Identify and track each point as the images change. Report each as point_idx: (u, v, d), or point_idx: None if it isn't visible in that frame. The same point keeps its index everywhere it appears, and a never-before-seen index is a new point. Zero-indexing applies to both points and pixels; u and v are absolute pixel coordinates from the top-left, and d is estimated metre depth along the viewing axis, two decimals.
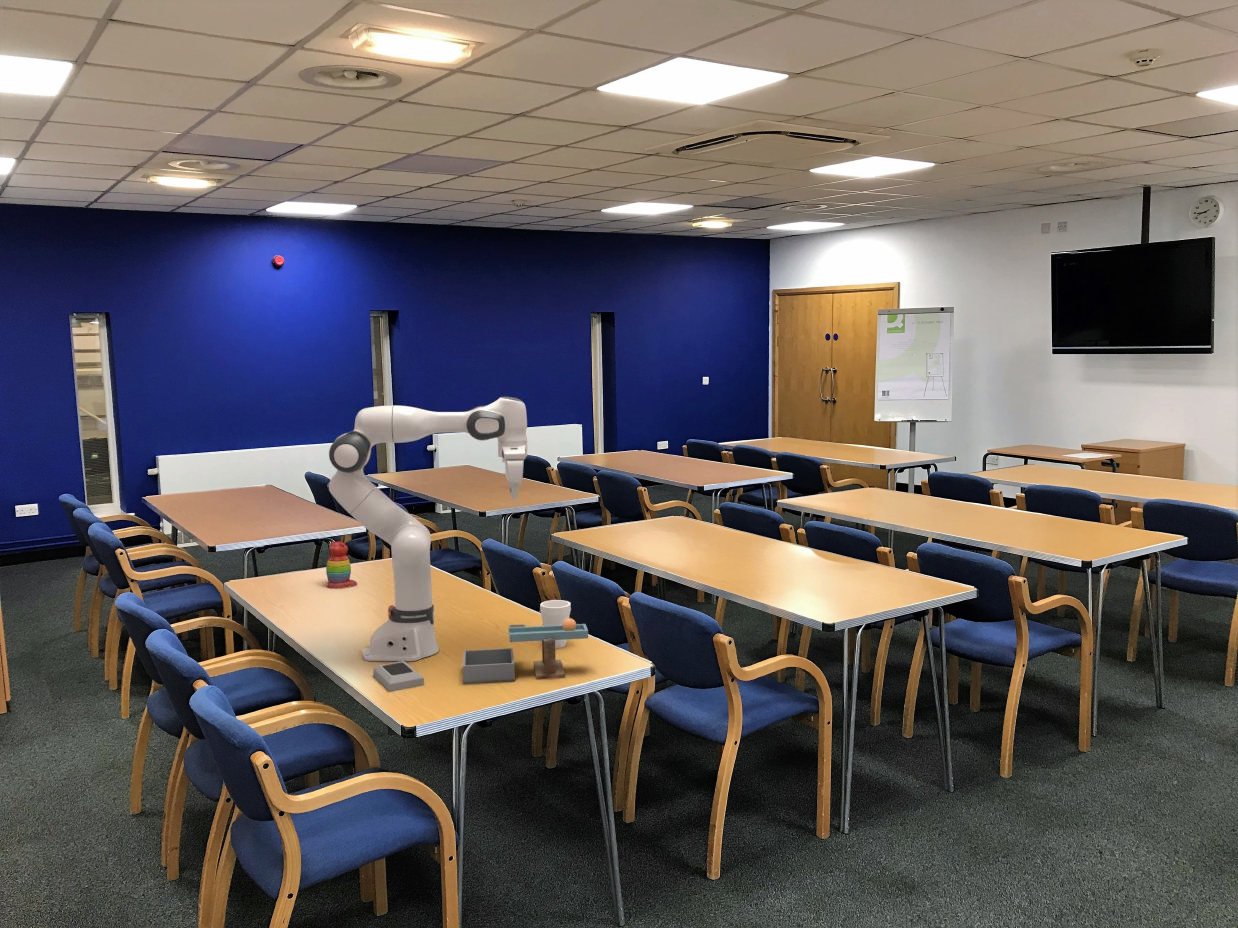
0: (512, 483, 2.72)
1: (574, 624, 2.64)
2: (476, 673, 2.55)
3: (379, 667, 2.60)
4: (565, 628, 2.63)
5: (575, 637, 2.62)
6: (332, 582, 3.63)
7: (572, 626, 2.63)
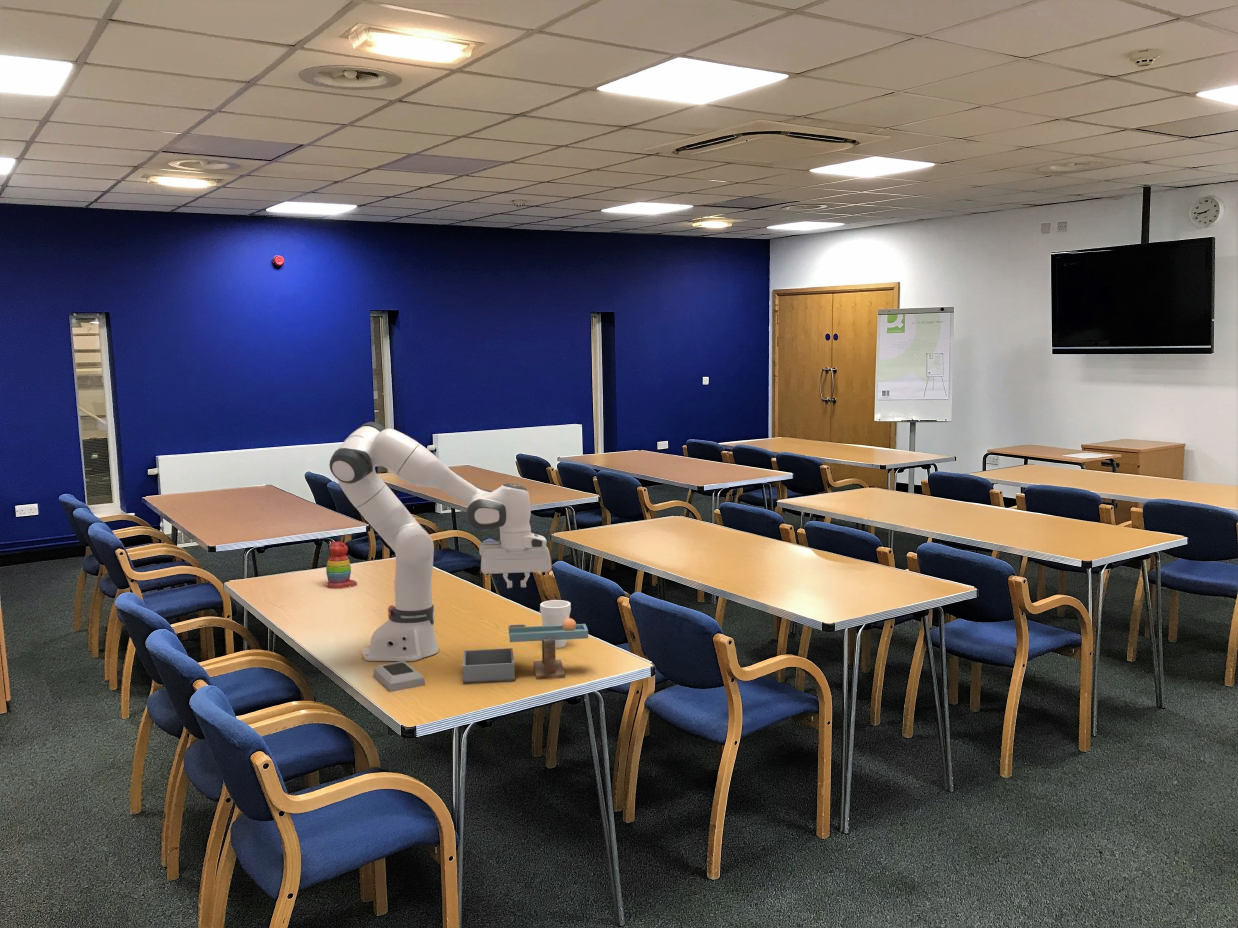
0: None
1: (574, 624, 2.64)
2: (476, 673, 2.55)
3: (380, 667, 2.60)
4: (565, 628, 2.63)
5: (575, 637, 2.62)
6: (332, 582, 3.63)
7: (572, 626, 2.63)
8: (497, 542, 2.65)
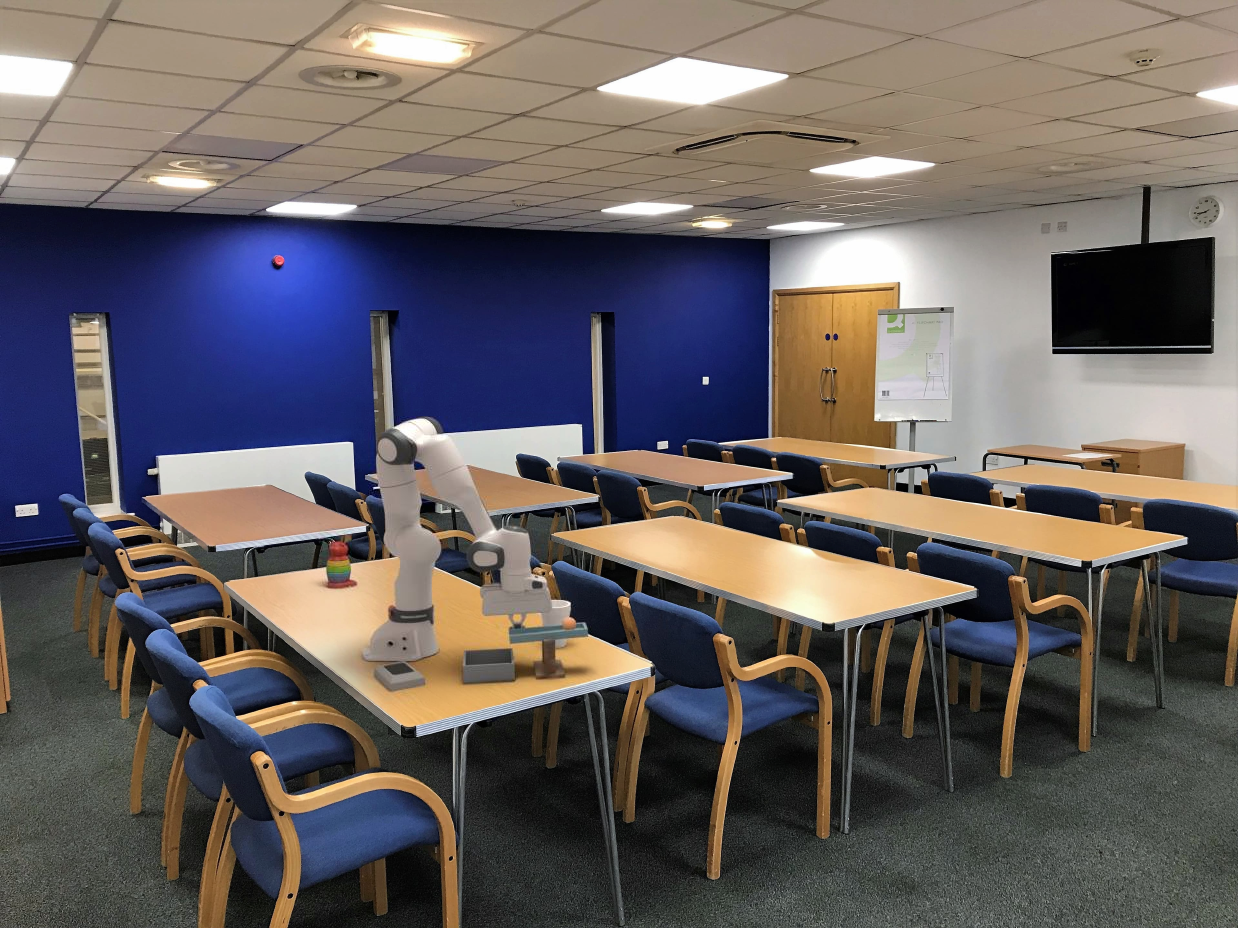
0: None
1: (574, 623, 2.64)
2: (476, 673, 2.55)
3: (380, 667, 2.60)
4: (565, 627, 2.63)
5: (575, 636, 2.62)
6: (332, 582, 3.63)
7: (572, 625, 2.63)
8: (497, 584, 2.67)
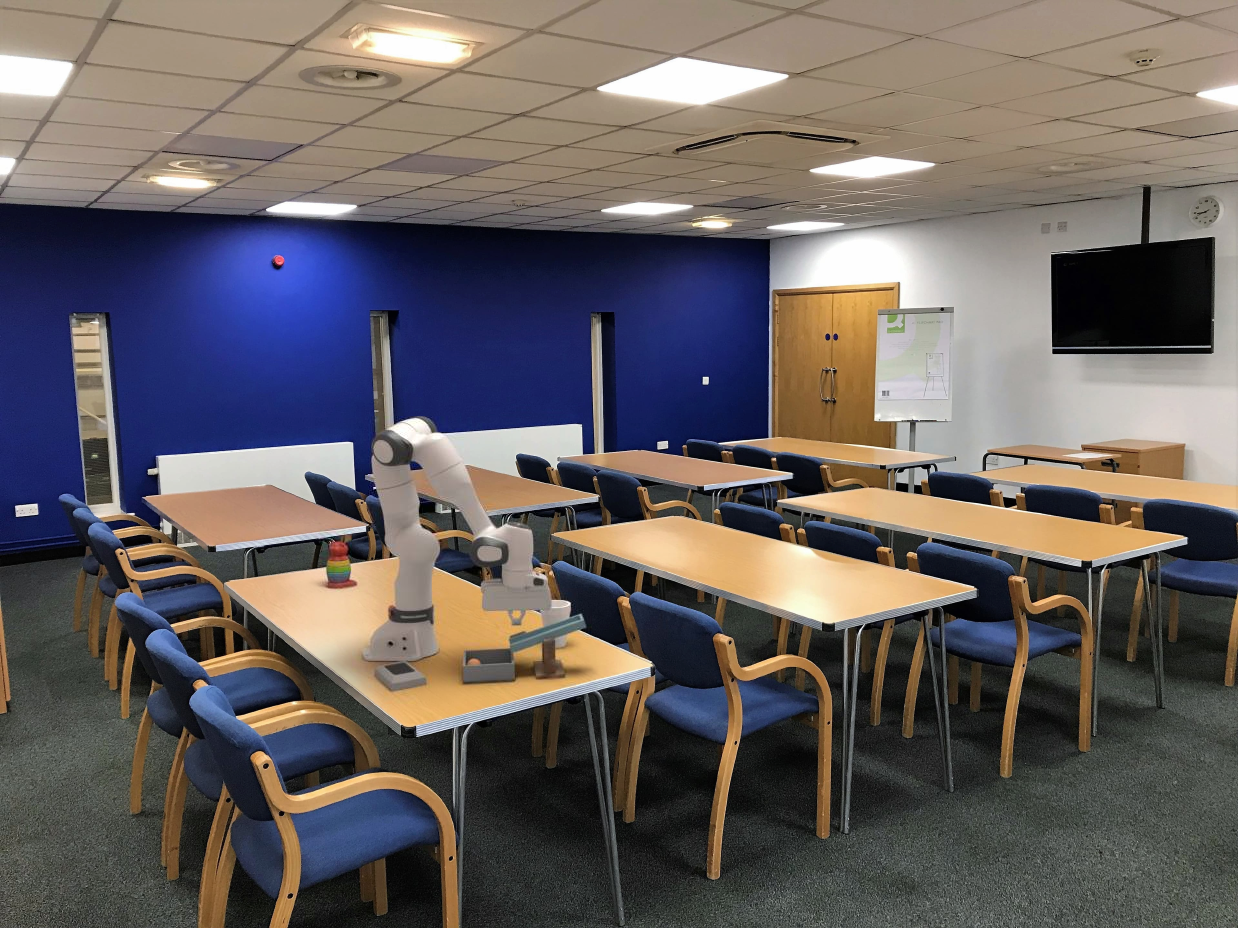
0: None
1: (471, 662, 2.61)
2: (476, 673, 2.55)
3: (381, 667, 2.60)
4: None
5: (573, 630, 2.62)
6: (332, 582, 3.63)
7: (472, 664, 2.60)
8: (498, 579, 2.67)
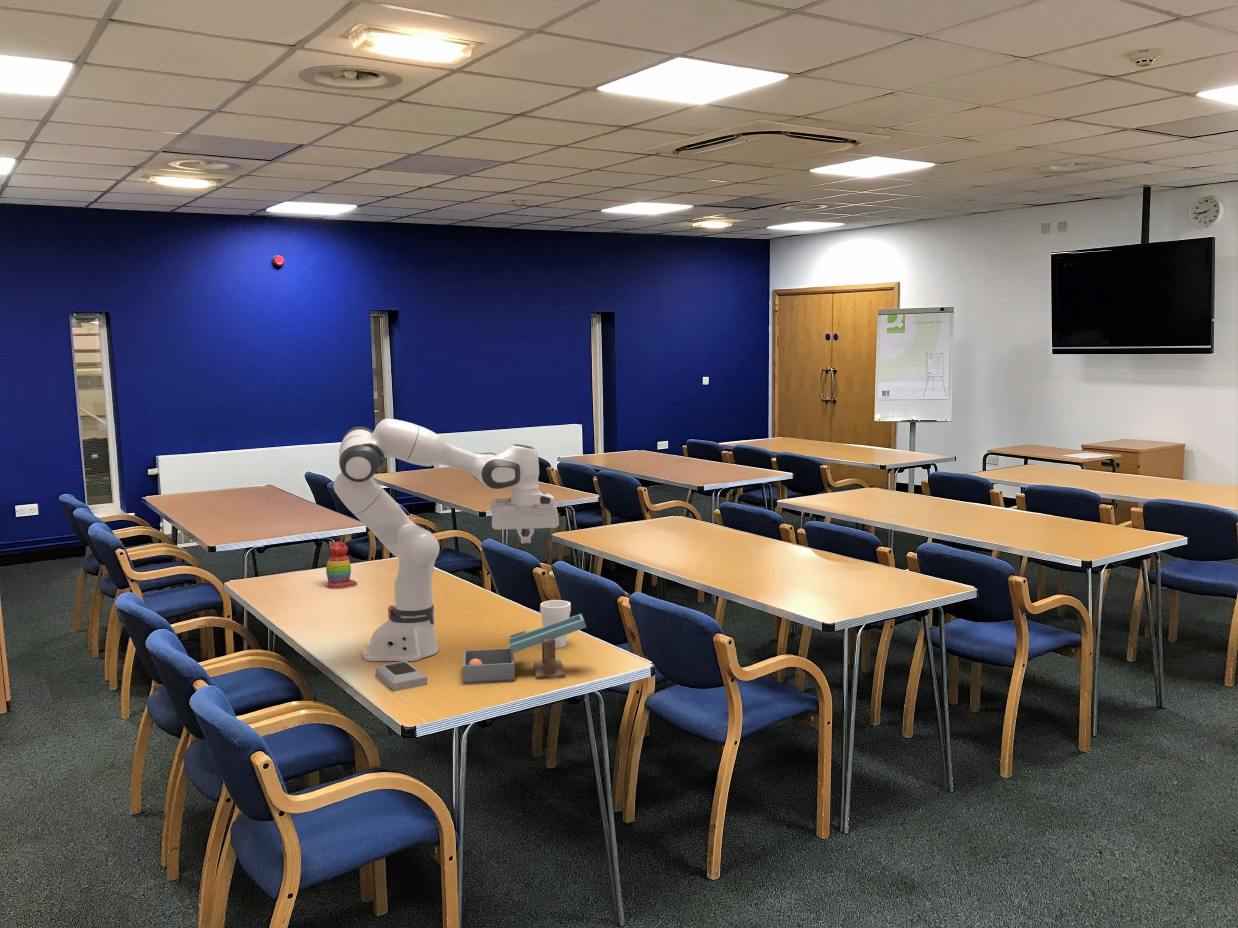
0: (557, 525, 2.82)
1: (474, 662, 2.61)
2: (476, 673, 2.55)
3: (382, 667, 2.60)
4: None
5: (573, 630, 2.62)
6: (332, 582, 3.63)
7: (474, 664, 2.60)
8: (507, 499, 2.79)
